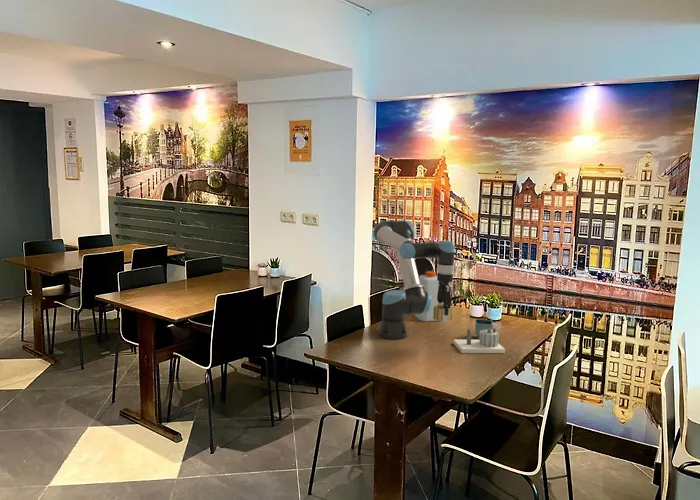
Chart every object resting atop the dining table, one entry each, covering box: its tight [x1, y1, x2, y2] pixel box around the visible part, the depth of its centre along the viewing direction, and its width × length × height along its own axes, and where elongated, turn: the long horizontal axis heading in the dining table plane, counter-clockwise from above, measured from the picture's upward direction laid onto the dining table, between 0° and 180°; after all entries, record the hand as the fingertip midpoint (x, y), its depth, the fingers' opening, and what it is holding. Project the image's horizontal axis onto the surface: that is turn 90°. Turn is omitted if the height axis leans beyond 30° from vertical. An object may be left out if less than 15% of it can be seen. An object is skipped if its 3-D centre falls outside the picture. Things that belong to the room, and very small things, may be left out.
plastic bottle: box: [414, 270, 443, 322], centre depth 309 cm, size 15×15×28 cm
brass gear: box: [433, 305, 454, 322], centre depth 254 cm, size 9×9×6 cm
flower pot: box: [474, 318, 494, 340], centre depth 273 cm, size 9×9×9 cm
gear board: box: [453, 327, 506, 354], centre depth 257 cm, size 21×15×10 cm
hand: (442, 318), depth 254 cm, fingers closed on brass gear, 9 cm apart
